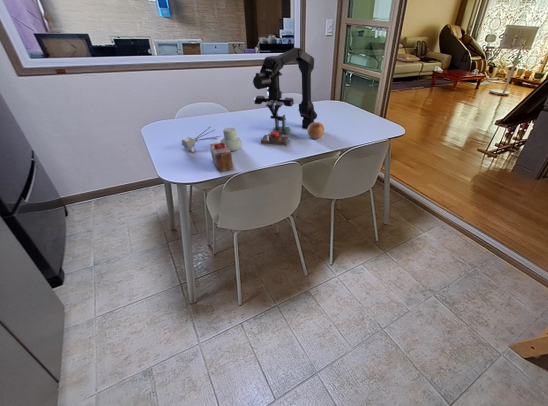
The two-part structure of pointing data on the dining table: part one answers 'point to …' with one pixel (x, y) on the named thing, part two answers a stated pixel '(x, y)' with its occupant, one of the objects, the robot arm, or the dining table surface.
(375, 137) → the dining table surface
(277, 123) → the switch bracket
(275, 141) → the button box
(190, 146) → the reed diffuser
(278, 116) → the switch lever
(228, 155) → the food item
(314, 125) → the onion
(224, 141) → the air freshener
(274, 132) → the push button
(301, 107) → the robot arm
